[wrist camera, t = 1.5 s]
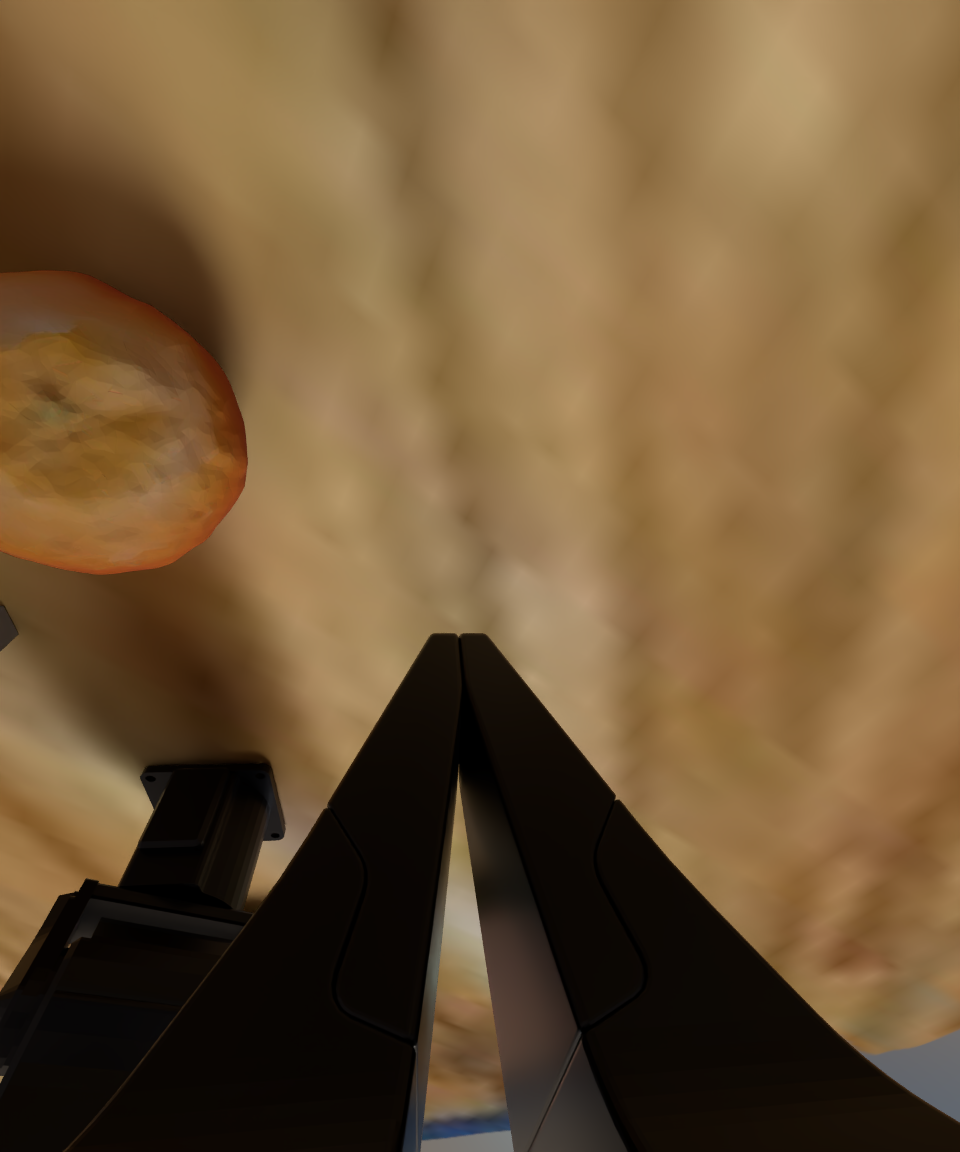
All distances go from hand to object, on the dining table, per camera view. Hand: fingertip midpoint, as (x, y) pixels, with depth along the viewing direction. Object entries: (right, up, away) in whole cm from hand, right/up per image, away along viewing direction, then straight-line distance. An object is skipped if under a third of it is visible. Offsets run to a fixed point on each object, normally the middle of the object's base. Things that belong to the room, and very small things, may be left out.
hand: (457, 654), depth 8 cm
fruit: (-11, +7, +10) cm, 16 cm away
